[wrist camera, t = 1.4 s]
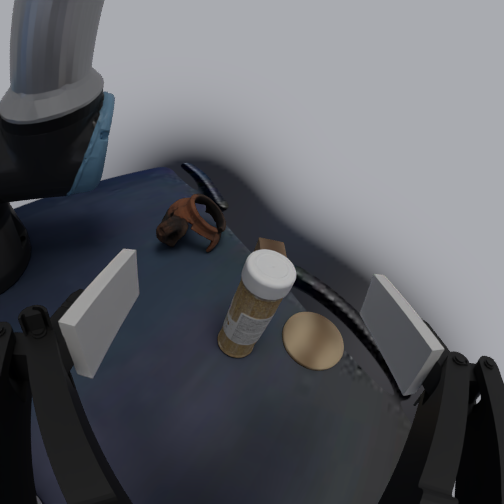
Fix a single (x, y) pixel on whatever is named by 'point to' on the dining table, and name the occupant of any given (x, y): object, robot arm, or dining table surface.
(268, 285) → the sprinkles bottle
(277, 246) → the walnut block
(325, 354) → the cork coaster
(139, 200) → the dining table surface
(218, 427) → the dining table surface
